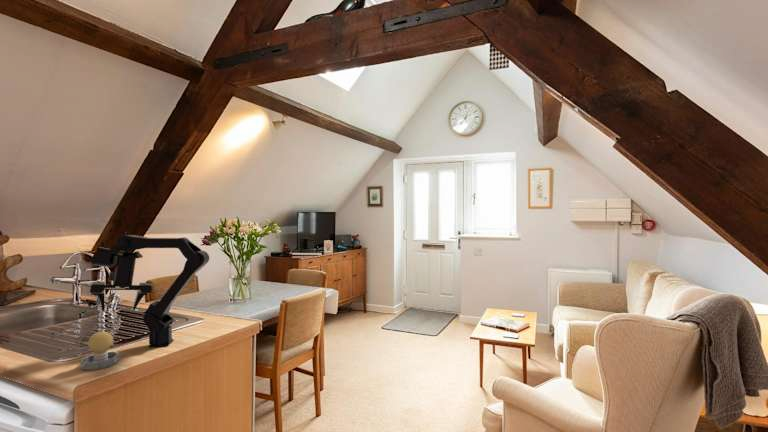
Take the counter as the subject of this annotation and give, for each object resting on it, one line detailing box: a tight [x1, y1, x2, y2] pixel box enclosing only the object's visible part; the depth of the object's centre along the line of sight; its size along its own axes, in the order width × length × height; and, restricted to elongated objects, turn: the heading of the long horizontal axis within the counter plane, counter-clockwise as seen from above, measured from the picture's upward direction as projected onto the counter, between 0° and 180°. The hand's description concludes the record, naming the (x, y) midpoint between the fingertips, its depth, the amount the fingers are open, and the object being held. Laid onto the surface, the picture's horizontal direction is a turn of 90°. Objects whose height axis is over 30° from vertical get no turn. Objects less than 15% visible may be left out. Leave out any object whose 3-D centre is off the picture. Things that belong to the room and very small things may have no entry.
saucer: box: [79, 351, 120, 371], centre depth 124 cm, size 10×10×2 cm
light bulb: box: [87, 331, 114, 362], centre depth 124 cm, size 6×6×10 cm
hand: (118, 310), depth 140 cm, fingers open, 9 cm apart
